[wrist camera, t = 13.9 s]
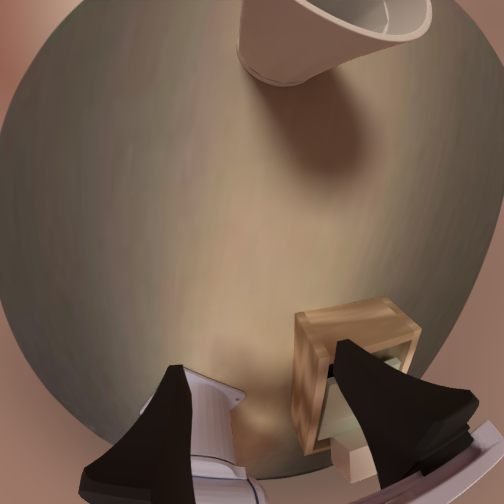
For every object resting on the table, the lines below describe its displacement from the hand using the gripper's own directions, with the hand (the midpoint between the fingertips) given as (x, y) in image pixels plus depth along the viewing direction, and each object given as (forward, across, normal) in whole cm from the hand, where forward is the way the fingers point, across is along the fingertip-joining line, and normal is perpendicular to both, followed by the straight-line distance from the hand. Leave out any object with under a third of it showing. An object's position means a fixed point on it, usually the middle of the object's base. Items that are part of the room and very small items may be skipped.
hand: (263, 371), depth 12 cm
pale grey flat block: (+4, -9, +13) cm, 17 cm away
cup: (+11, -4, -17) cm, 21 cm away
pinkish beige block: (+4, -9, +18) cm, 21 cm away
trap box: (+10, -9, +11) cm, 18 cm away
